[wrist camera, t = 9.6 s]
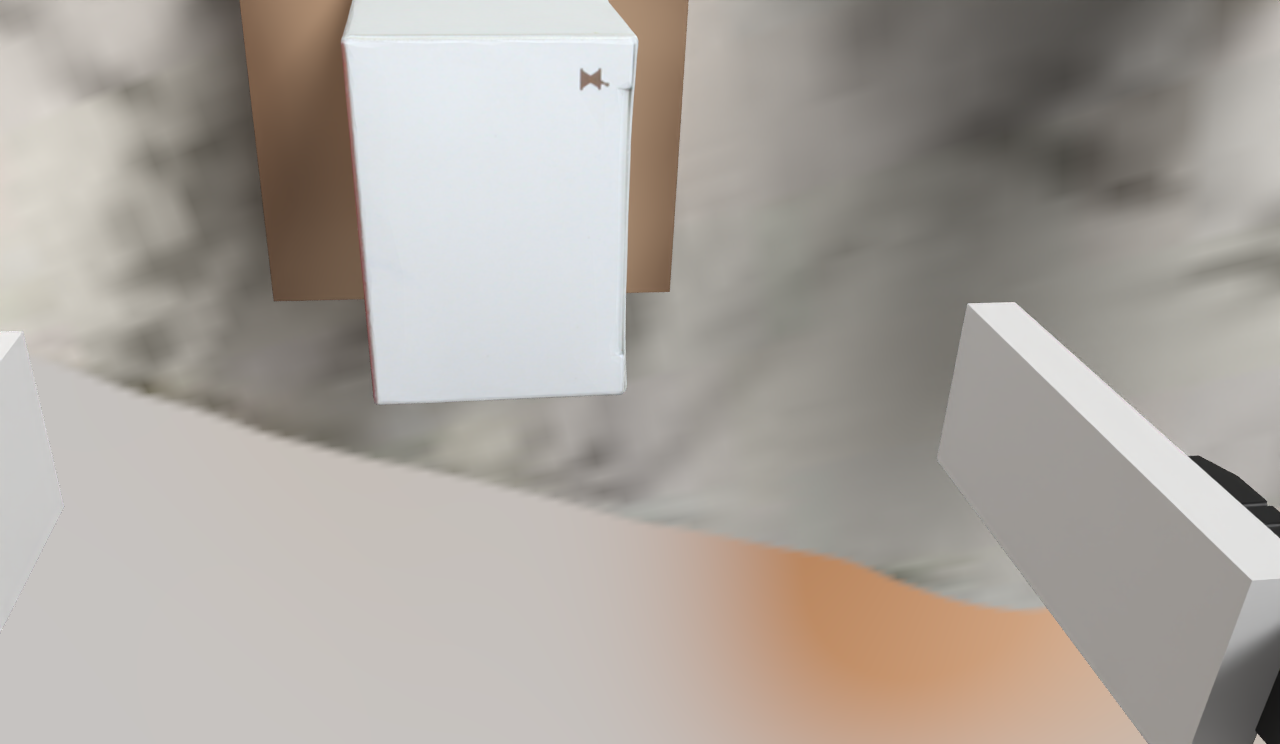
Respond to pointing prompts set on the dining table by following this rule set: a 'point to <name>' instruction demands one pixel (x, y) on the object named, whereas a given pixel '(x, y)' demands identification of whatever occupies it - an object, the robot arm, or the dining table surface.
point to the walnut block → (321, 156)
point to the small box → (491, 195)
